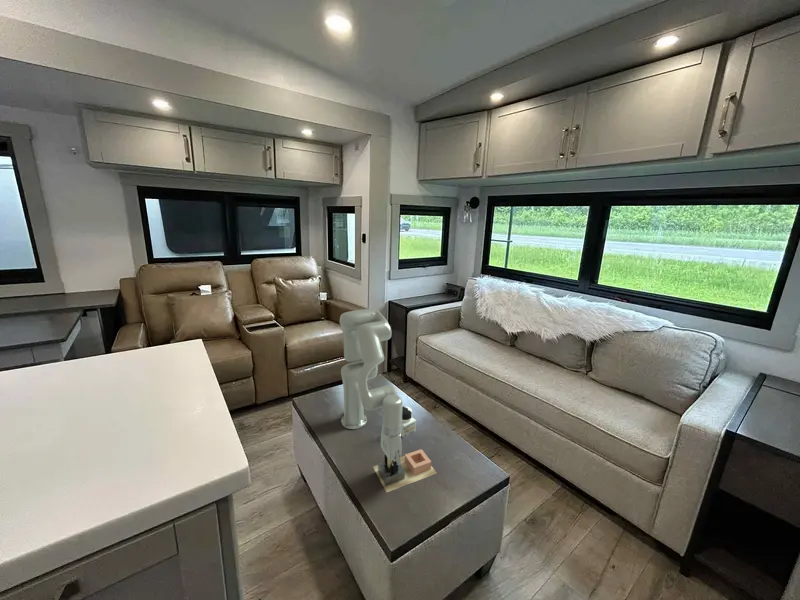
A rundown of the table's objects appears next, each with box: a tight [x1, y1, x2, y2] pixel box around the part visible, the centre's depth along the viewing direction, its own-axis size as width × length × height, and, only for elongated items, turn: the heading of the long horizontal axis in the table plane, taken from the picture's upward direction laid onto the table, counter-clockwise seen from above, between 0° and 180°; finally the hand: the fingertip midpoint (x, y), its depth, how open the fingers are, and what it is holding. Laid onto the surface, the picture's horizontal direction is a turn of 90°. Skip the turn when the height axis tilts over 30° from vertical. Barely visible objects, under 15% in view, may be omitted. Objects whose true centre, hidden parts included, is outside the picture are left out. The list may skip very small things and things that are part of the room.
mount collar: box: [377, 459, 405, 485], centre depth 130 cm, size 8×8×4 cm
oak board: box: [372, 455, 438, 493], centre depth 133 cm, size 14×22×2 cm, turn 116°
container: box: [401, 405, 417, 439], centre depth 155 cm, size 8×8×13 cm
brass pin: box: [387, 459, 395, 473], centre depth 129 cm, size 3×3×9 cm
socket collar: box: [404, 448, 432, 475], centre depth 135 cm, size 8×8×4 cm
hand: (391, 466), depth 129 cm, fingers open, 4 cm apart
